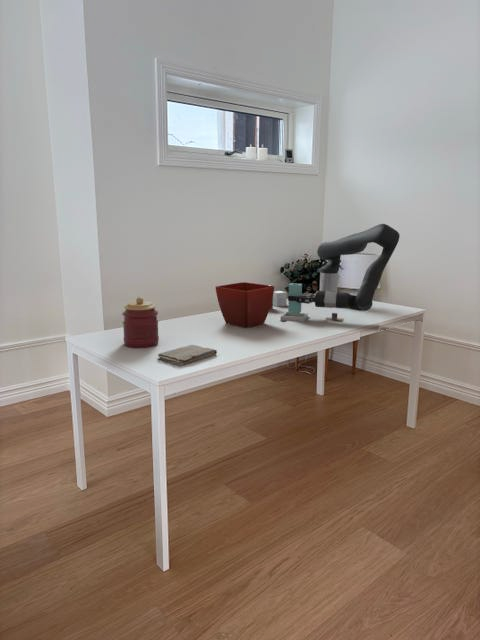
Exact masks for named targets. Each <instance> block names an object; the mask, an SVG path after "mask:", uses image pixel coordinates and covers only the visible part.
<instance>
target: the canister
mask: <svg viewBox="0 0 480 640" xmlns="http://www.w3.org/2000/svg"><path fill="white" fill-rule="evenodd" d="M156 307H157V305H156V304H153V303H152V302H150V301H144V298H143V297H141V296H139V297H138V296H137V298H136V300H135V301H131V302H128V303H127V304H126V305H125V306H124V307H123V308H124V309H125V310H124V311H123V312H122V313H121V315H122V316H123V321H122V324H123V325H122V326H123V343H124V346H126V347H127V348H128V347H129V348H133V349H135V348H136V349H139V348H140V349H144V348H151V347H155V346H156V345H158V344H159V341H160V339H159V338H160V336H159V320H158V317H157V316H158V314H159V311H158V310H156Z"/></svg>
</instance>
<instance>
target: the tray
mask: <svg viewBox="0 0 480 640" xmlns="http://www.w3.org/2000/svg"><path fill="white" fill-rule="evenodd" d="M308 317H309V314H308V313H306V312H300V313H299V314H298V313H288V311H285V312H284V313H283V314H281V315H280V322H288V321H293V322H301V323H302V322H305V321H306V319H308Z"/></svg>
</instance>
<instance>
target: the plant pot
mask: <svg viewBox="0 0 480 640" xmlns="http://www.w3.org/2000/svg"><path fill="white" fill-rule="evenodd" d="M270 285H271V284H260V283H254V282H244V281H243V282H242V281H241V282H236V283H229V284H223V285H222V284H221V285H217V286H215V288H214V289H215V294H216V296H217V297H216V298H217V302H218V305H219V308H220V311H221V314H222V316H223V318H222V319H224V322H225V324H227V325H232V326H237V327H241V328H250V327H253V326H258V325H262V324H265V323H266V320H267V317H268V314H269V312H270V310H269V309H270V306H271V302H272V298H273V293H274V291H275V285H272V286H270Z"/></svg>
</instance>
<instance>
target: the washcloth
mask: <svg viewBox="0 0 480 640" xmlns="http://www.w3.org/2000/svg"><path fill="white" fill-rule="evenodd" d="M217 353H218V350H217V349H214V348H211V347H210V348H209V347H203V346H199V345H196V344H190V345H189V344H188V345H186V346H181V347H178V348H174V349H171V350H166V351H163V352H159V353H158V354H157V357H158V358H157V360H158V361H161V362H163V363H167V364H170V365H173V366H177V367H182V366H187V365H190V364H193V363H197V362H199V361H202V360H205V359H208V358H212V357H215V356H216V355H217Z"/></svg>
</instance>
